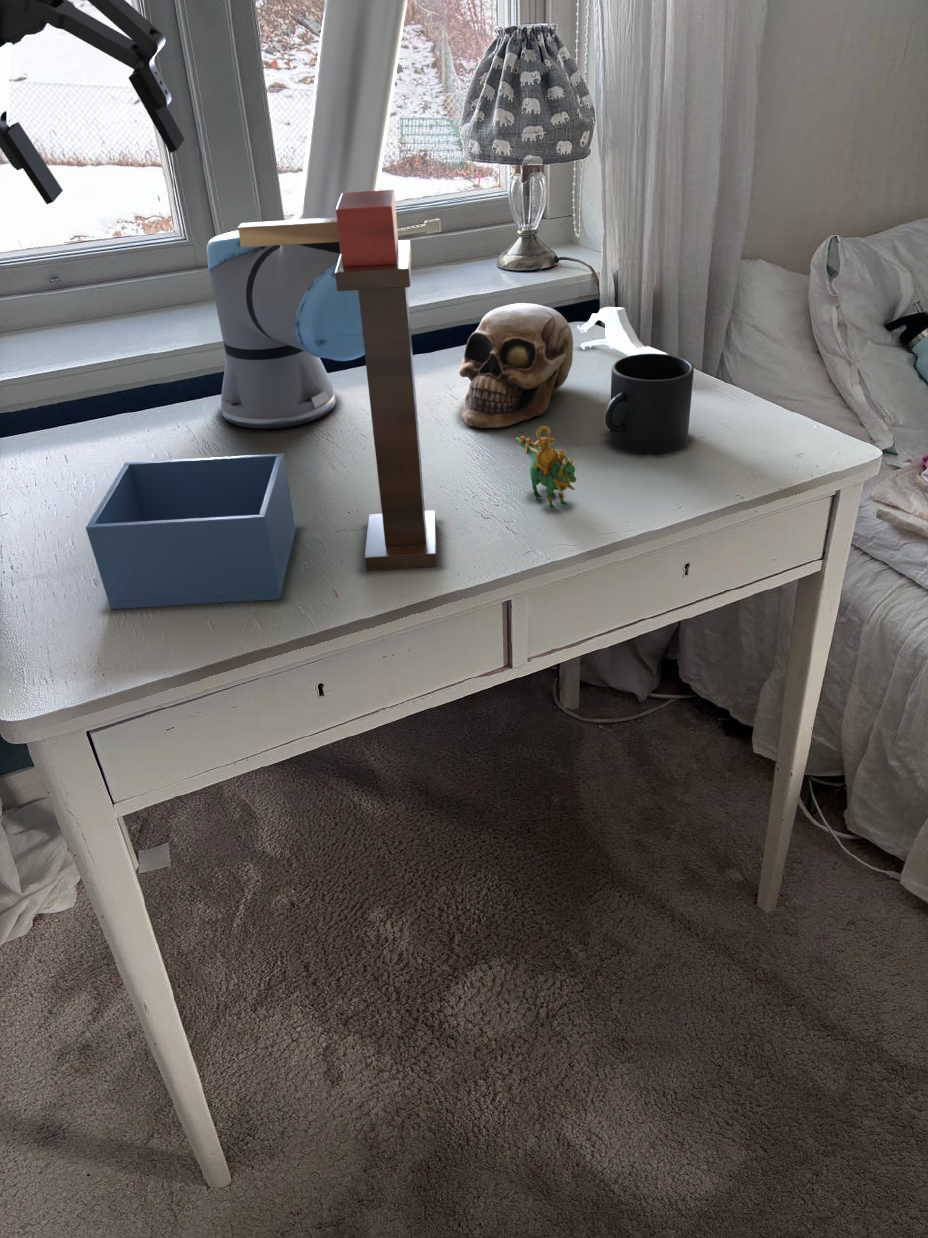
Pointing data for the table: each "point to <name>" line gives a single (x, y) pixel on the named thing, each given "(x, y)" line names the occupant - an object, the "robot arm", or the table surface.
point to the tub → (194, 531)
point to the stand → (392, 416)
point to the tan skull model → (515, 364)
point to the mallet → (339, 230)
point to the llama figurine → (617, 332)
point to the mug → (650, 403)
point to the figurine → (548, 467)
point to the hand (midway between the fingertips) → (115, 172)
